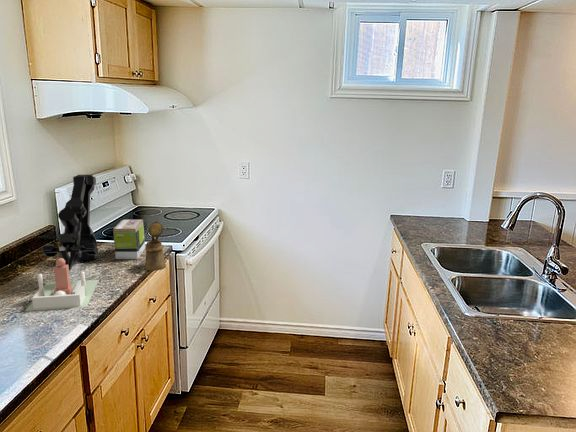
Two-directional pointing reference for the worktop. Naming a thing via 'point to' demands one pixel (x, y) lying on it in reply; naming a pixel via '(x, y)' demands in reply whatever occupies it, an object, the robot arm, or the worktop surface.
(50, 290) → the pitch
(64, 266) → the striker
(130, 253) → the tea box
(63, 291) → the ball
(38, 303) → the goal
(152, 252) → the brown pawn figure
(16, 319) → the worktop surface
